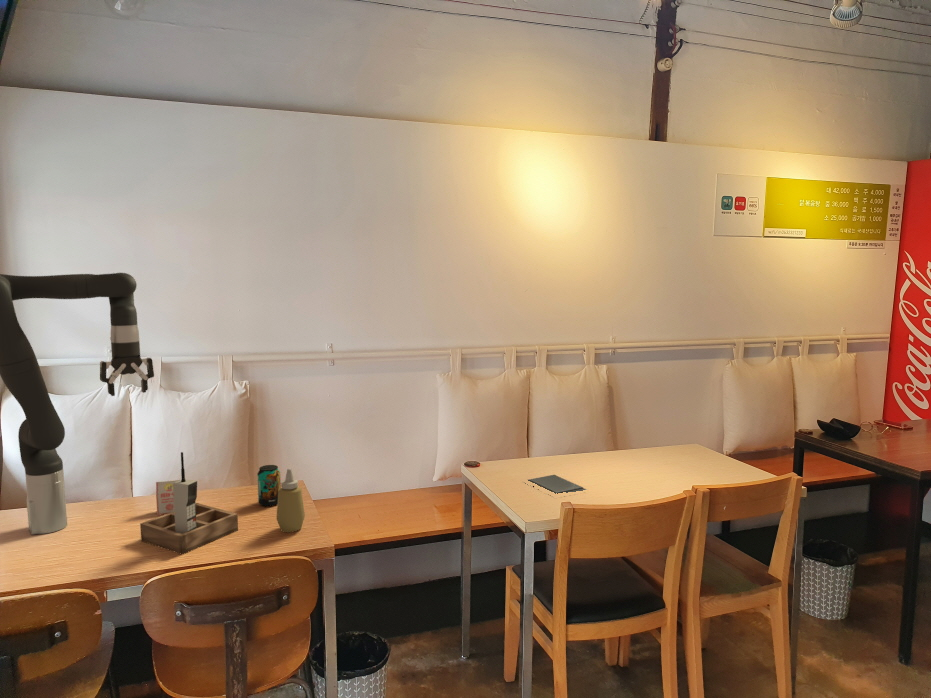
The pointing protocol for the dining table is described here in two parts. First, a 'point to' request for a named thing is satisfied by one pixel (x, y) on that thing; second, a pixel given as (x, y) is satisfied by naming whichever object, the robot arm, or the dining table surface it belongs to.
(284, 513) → the squeeze bottle
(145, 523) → the wooden compartment tray
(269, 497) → the beverage can
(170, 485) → the tea bag
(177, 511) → the vintage mobile phone
